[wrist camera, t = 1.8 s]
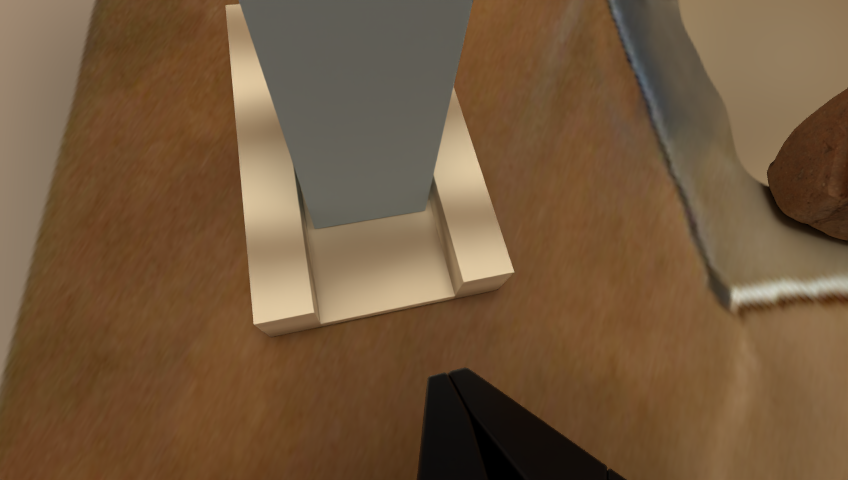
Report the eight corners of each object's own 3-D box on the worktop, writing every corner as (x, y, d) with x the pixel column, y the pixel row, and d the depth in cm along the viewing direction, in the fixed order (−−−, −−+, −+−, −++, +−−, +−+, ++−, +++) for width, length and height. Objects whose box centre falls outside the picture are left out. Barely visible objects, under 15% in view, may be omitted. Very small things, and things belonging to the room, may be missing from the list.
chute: (497, 289, 23) (514, 272, 20) (270, 336, 21) (253, 324, 18) (418, 31, 30) (422, -9, 27) (240, 46, 27) (225, 5, 25)
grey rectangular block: (425, 210, 23) (482, -43, 11) (314, 228, 22) (229, -28, 9) (402, 122, 26) (426, -178, 13) (300, 135, 24) (214, -178, 12)
